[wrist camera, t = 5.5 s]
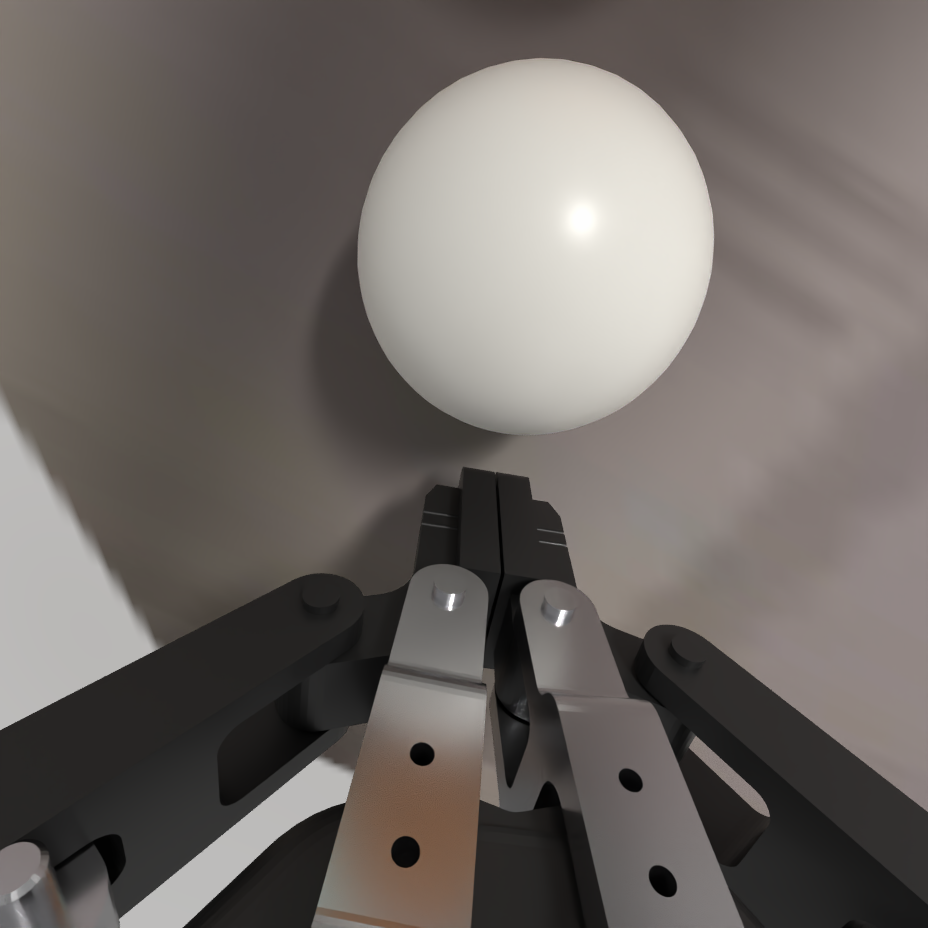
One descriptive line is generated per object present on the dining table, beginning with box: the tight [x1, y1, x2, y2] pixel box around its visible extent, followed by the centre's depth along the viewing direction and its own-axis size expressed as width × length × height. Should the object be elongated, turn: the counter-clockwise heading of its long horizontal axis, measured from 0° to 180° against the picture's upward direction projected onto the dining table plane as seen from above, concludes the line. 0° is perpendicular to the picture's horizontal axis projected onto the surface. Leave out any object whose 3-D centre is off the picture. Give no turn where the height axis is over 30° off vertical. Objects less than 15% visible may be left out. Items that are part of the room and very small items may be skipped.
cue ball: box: [357, 58, 714, 435], centre depth 9 cm, size 6×6×6 cm
